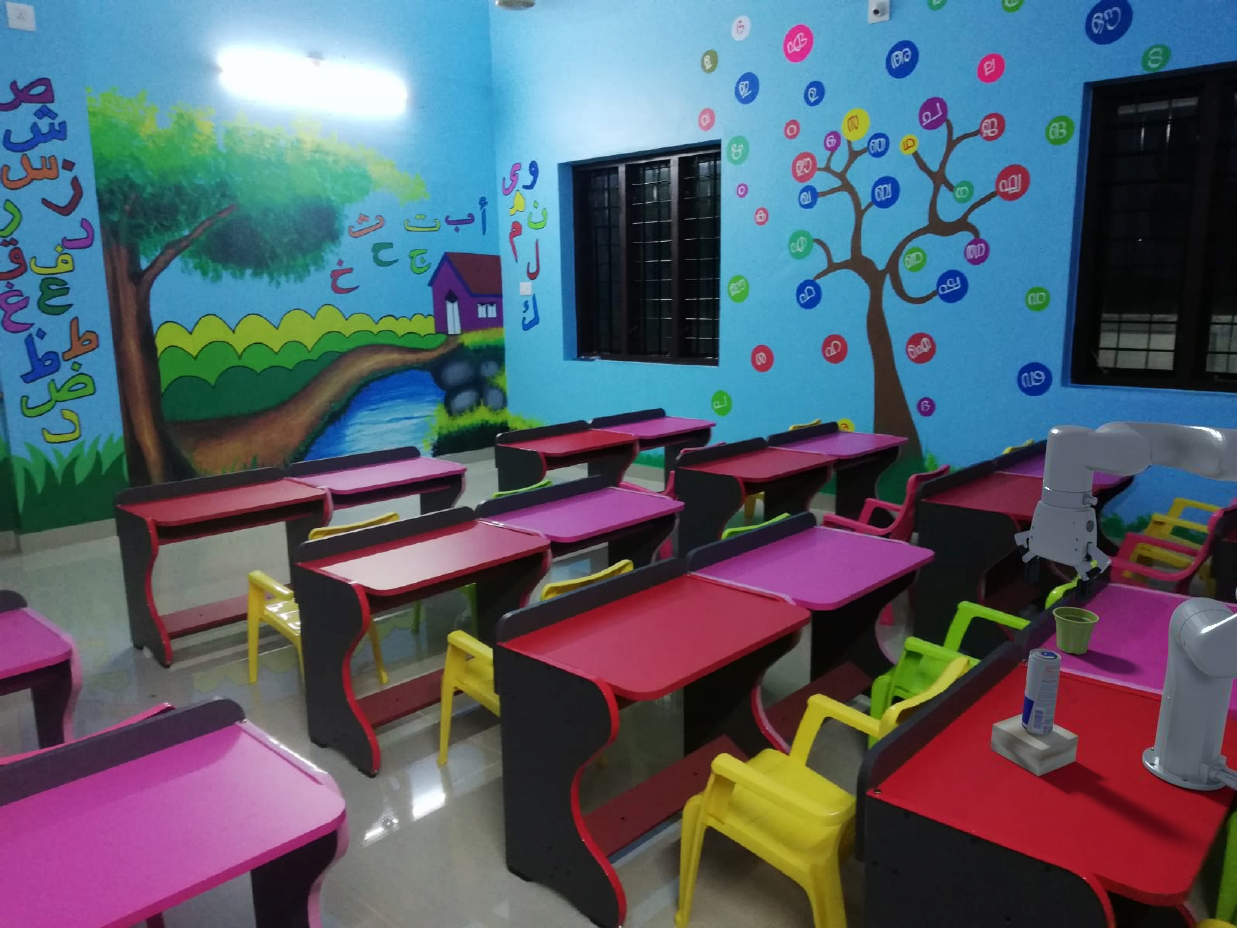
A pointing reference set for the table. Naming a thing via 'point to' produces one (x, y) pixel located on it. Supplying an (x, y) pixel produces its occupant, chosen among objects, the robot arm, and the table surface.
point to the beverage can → (1041, 691)
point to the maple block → (1033, 746)
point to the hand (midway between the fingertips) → (1055, 591)
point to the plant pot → (1074, 629)
